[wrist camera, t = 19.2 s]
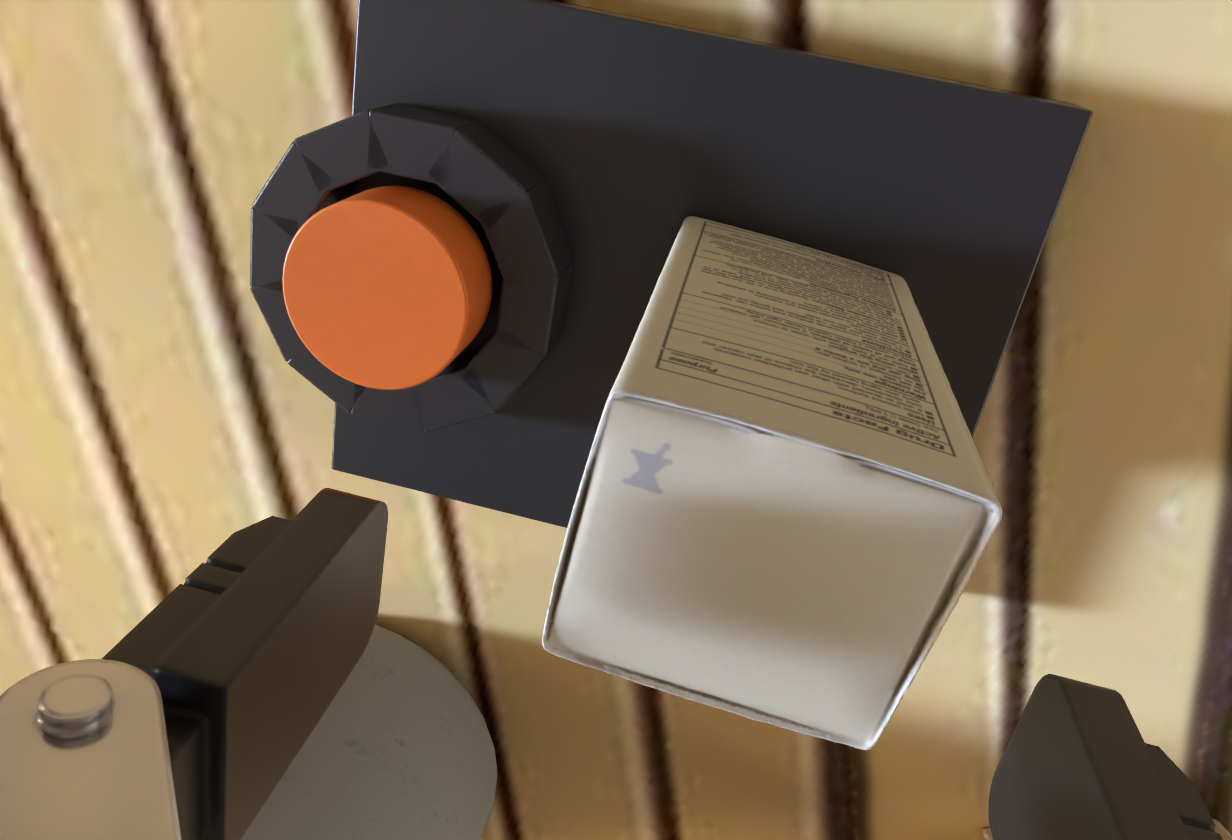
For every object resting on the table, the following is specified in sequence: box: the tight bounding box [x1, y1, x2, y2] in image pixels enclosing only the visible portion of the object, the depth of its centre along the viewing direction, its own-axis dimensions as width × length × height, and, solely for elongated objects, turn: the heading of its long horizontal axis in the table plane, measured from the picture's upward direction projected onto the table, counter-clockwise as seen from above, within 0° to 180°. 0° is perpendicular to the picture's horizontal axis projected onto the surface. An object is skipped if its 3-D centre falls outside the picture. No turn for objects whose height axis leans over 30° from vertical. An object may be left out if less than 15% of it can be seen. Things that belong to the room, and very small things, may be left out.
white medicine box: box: [542, 216, 1002, 750], centre depth 17 cm, size 5×4×10 cm
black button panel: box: [250, 0, 1093, 528], centre depth 22 cm, size 16×12×3 cm
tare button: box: [282, 186, 492, 390], centre depth 20 cm, size 4×4×2 cm
